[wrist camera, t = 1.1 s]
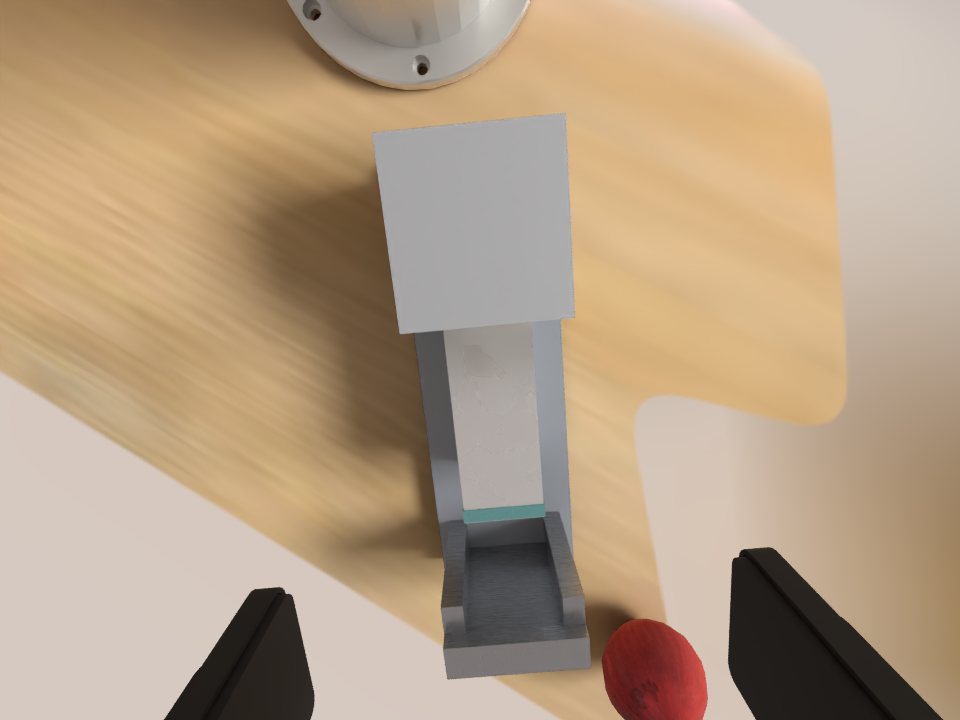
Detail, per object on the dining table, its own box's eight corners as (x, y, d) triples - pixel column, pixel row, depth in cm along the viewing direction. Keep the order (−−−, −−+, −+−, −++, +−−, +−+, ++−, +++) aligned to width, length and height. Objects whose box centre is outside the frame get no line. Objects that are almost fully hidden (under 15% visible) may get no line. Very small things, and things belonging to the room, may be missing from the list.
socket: (449, 520, 28) (439, 621, 21) (559, 511, 28) (588, 609, 21) (455, 566, 29) (447, 679, 22) (561, 557, 29) (591, 668, 21)
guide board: (395, 162, 25) (349, 119, 16) (547, 147, 24) (585, 94, 16) (446, 558, 30) (432, 685, 22) (569, 548, 30) (606, 672, 21)
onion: (596, 667, 33) (633, 800, 25) (584, 598, 31) (619, 716, 23) (680, 653, 32) (744, 784, 25) (672, 583, 31) (736, 698, 23)
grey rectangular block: (436, 179, 23) (421, 157, 18) (510, 172, 23) (520, 147, 17) (467, 462, 27) (464, 524, 21) (531, 457, 27) (545, 517, 21)
